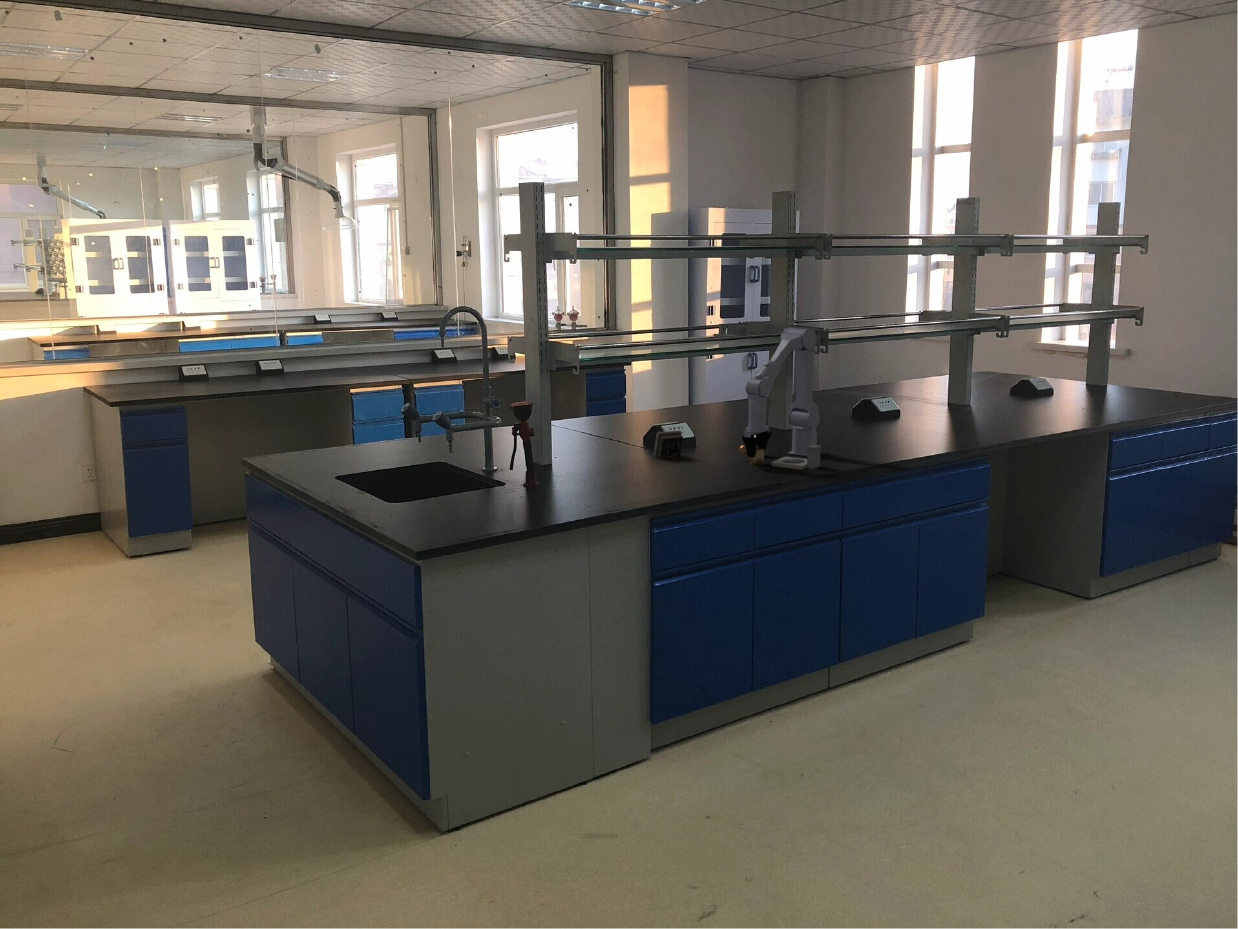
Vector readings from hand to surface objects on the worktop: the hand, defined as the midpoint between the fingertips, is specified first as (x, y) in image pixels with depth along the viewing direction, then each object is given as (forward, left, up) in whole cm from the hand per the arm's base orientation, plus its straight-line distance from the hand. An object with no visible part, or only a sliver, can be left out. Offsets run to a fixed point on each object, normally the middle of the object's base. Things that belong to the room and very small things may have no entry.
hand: (756, 455), depth 337 cm
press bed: (-6, +13, -3) cm, 14 cm away
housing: (0, 0, -3) cm, 3 cm away
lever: (-6, -6, -1) cm, 9 cm away
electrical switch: (+6, -30, -3) cm, 31 cm away
